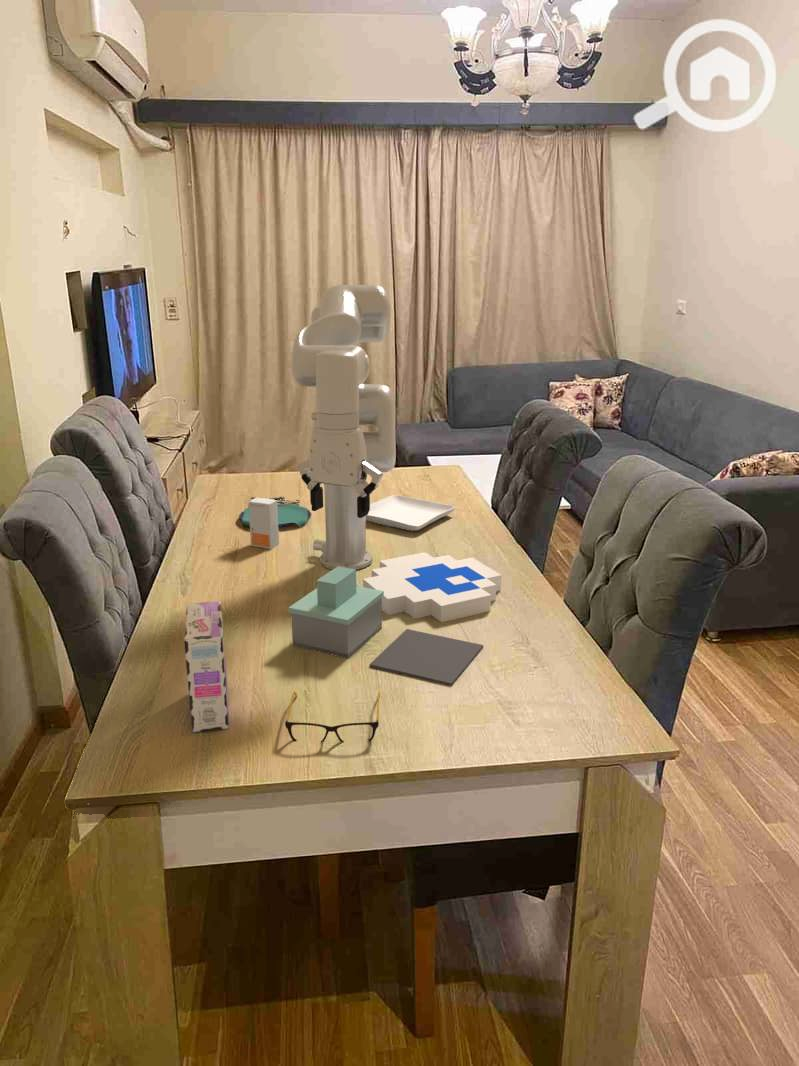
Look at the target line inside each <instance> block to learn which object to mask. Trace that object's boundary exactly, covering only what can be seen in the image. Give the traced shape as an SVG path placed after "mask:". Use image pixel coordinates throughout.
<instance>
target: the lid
mask: <svg viewBox="0 0 799 1066" xmlns="http://www.w3.org/2000/svg"><path fill="white" fill-rule="evenodd" d="M383 596H384V591H380V590H375V589H370V588H365V587H363V586H359V585H357V569H350V568H345V567H339V566H338V567H336V568H335V569H331V570H330V571H328V573H325V574H324V575H323V576H321V577H319V578H318V579H317V580H316V588H315V589H314V590H312V591H310V592H309V593H307V594H306V595H305V596H303V597H302V598H301V599H299V600H297V601H296V602H295V603H293V604H292V605H290V606H289V607H288V613H290V614H291V613H294V614H299V615H303V616H308V617H313V618H317V619H322V620H327V621H331V622H336V623H341V624H345V625H349V624H350V623H351V622H352V621H354V620H355V619H356V618H357V617H359V616H360V615H361V614H362V613H363V612H365V611H366V610H367V609H368V608H370V607H371V606H372V605H373V604H374V603H376V602H377V601H378V600H379V599H381V598H382V597H383Z"/></svg>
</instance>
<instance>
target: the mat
mask: <svg viewBox="0 0 799 1066" xmlns="http://www.w3.org/2000/svg"><path fill="white" fill-rule="evenodd" d="M483 648H484V645H483V644H481V643H477V642H475V643H474V642H470V641H466V640H461V639H456V638H451V637H447V636H442V635H438V634H433V633H429V632H423V631H418V630H413V629H409V628H406V629H405V630H404V631H403V632H401V634H399V636H398V637H396V638H395V640H393V641H392V643H390V644H389V645H388V646H387V647H386V648H385V649H384V650H383V651H382V652H380V653H379V655H378V656H376V657H375V658H374V659H373V661H371V662H370V663H369V668H370V667H371V668H374V669H378V670H383V671H386V672H392V673H395V674H400V675H404V676H407V677H412V678H417V679H421V680H425V681H430V682H434V683H436V684H437V683H438V684H441V685H442V684H443V685H446V686H450V687H452V686H453V685H454V684H455V683H456V681H457V680H458V679H459V678H460V677H461V675H462V674H463V673H464V672H465V670H466V669H467V668H468V666H470V665H471V663H472V662H473V660H474V659H475V658H476V657H477V656H478V654H479V653H480V652H481V651H482V649H483Z"/></svg>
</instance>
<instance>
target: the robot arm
mask: <svg viewBox="0 0 799 1066" xmlns="http://www.w3.org/2000/svg"><path fill="white" fill-rule="evenodd" d="M391 314H392V309H391V302H390V297H389V295H388V292H387V291H386V289H385V288H384V287H382V286H380V285H378V284H337V285H333V286H330V287H329V288H327V289H326V290H324V292H323V293H322V296H321V298H320V303H319V305H317V306H316V307H314V308H313V309H312V312H311V315H310V323H309V324H307V325H306V326H304V327H303V328H301V329H300V330H299V331H298V333H297V334H296V335H295V338H294V341H293V346H292V352H291V362H290V363H291V365H290V369H291V373H292V378H293V380H294V381H295V382H296V384H298V385H300V386H301V387H307V388H311V387H312V388H314V387H315V396H316V397H315V398H316V399H315V400H316V402H315V403H316V410H315V412H312V413H311V417H310V418H311V419H312V420H313V421H316V427H313V428H312V433H311V438H310V445H309V457H308V459H306V460H304V461H302V462H300V463H297V465H296V467H297V470H298V472H299V474H300V475H301V480H302V481H303V483H304V484H306V488H307V489H308V490H309V497H310V499H309V500H310V505H311V511H313V512H317V511H319V510H320V509H322V508H323V507H324V514H325V518H324V519H325V522H324V523H325V540H323V539H318V538H315V539H314V541H313V546H312V548H313V550H315V551H320V552H322V554H321V555H320V557H319V563H320V564H321V566H324V567H325V568H326V569H330V570H333V569H335V568H336V567H338V566H339V567H345V568H350V569H356V570H361V569H364V568H366V567H368V566H370V565H371V564H372V563H373V554H372V553H370V552H369V551H367V537H366V536H367V535H366V534H367V533H366V529H367V528H366V527H367V525H366V523H367V522H366V521H367V520H366V515H368V513H369V511H370V504H371V501H370V500H371V498H370V496H371V495H372V493H373V492H374V491H375V490H376V489H377V488H378V487H379V484H380V483H381V480H382V478H383V477H384V475H383V474H384V473H385V474H386V473H389V472H391V471H392V470H393V469H394V467H395V465H396V458H397V447H396V445H397V442H396V438H397V437H396V434H397V433H396V406H395V404H396V403H395V397H394V393H393V390H392V389H391V388H390V387H389V386H387V385H385V384H380V383H371V384H370V383H368V384H367V383H364V382H365V381H366V379H367V378H368V377H369V374H370V359H369V356H368V354H367V353H366V351H365V349H363V347H361V346H358V345H356V344H357V343H381V342H383V341H385V340H386V339H387V338H388V336H389V334H390V329H391V317H392V316H391ZM360 427H373V428H374V429H375V431H363V430H362V429H363V428H360ZM368 475H369V476H370V478H371V480H370V482H369V483H368V481H367V478H368ZM321 484H322V485H323V486H324V488H323V486H321Z"/></svg>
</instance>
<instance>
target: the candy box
mask: <svg viewBox="0 0 799 1066" xmlns="http://www.w3.org/2000/svg"><path fill="white" fill-rule="evenodd" d="M222 611H223V610H222V602H221V601H219V600H218V601H206V602H205V601H204V602H196V603H194V602H193V603H186V612H185V614H186V616H185V626H184V629H185V630H184V651H185V666H186V677H187V689H188V698H189V699H188V700H189V709H190V710H189V711H190V720H191V731H192V733H199V732H208V731H219V730H228V729H229V728H230V721H229V720H230V719H229V718H230V717H229V693H228V678H227V676H228V675H227V666H226V665H227V664H226V654H225V653H226V652H225V637H224V636H225V635H224V622H223V612H222ZM227 728H228V729H227Z"/></svg>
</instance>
